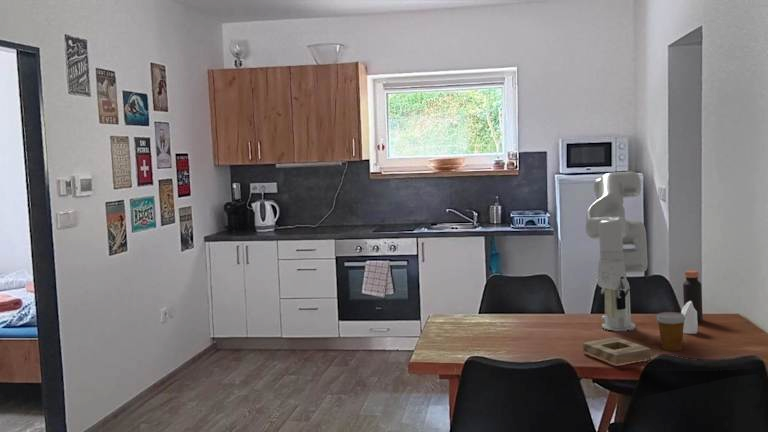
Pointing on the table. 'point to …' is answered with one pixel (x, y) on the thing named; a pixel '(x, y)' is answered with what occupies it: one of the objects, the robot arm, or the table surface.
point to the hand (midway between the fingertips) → (614, 306)
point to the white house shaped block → (689, 318)
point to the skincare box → (612, 304)
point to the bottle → (693, 292)
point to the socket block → (617, 350)
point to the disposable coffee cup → (671, 330)
